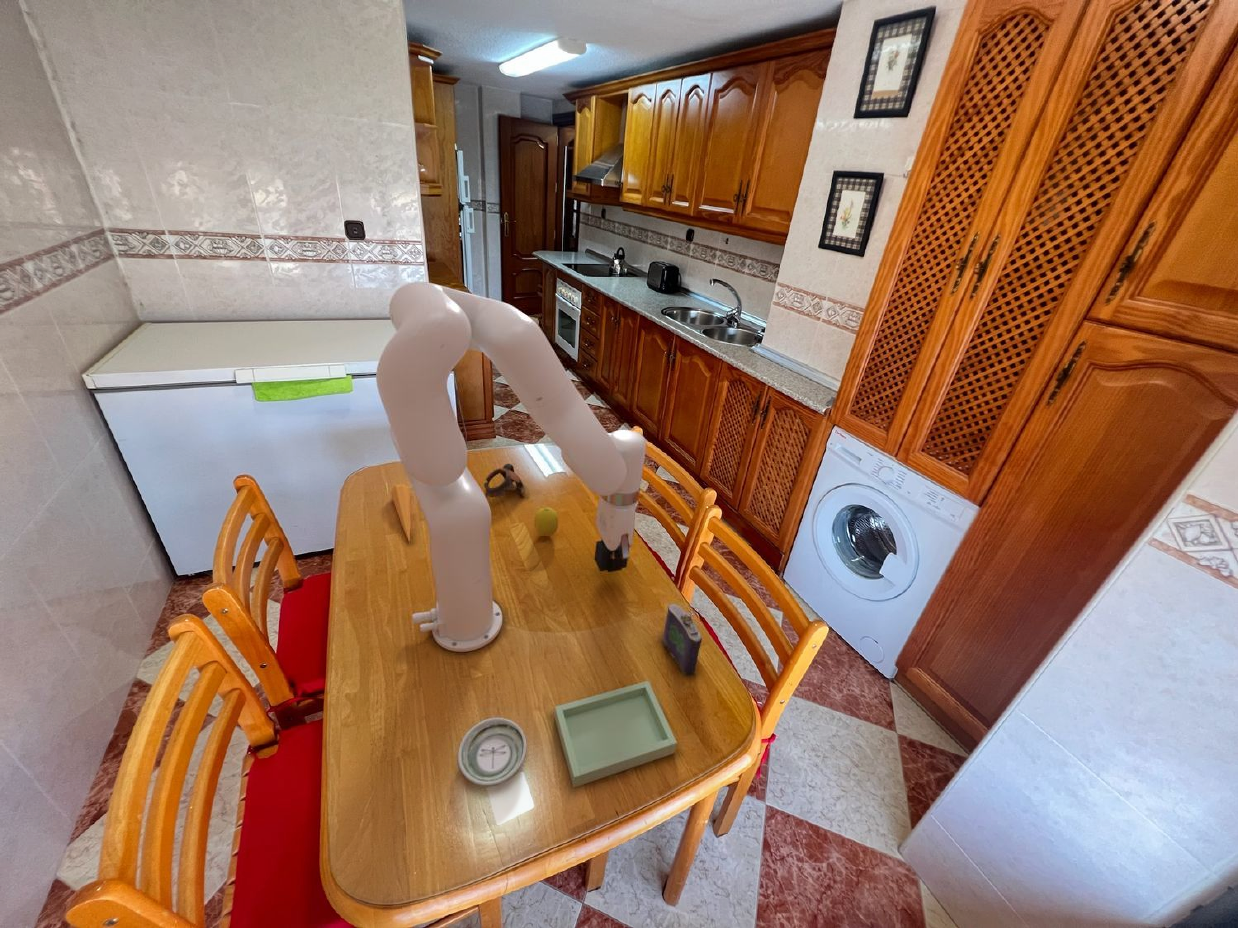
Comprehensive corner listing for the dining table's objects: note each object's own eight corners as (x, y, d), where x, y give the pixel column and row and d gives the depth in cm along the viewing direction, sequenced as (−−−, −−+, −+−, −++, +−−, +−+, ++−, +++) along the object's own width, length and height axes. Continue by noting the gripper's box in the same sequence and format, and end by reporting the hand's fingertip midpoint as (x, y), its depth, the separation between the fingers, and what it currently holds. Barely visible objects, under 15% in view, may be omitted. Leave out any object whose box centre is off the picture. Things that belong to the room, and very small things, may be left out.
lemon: (553, 545, 114) (554, 517, 110) (530, 540, 115) (530, 512, 111) (560, 530, 119) (561, 503, 115) (538, 526, 120) (539, 499, 116)
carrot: (396, 497, 126) (386, 486, 123) (412, 489, 126) (403, 478, 123) (405, 553, 112) (394, 541, 108) (424, 543, 112) (413, 531, 109)
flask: (659, 638, 94) (667, 597, 88) (672, 633, 95) (680, 593, 90) (685, 678, 87) (695, 636, 81) (699, 672, 88) (710, 631, 83)
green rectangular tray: (573, 787, 70) (574, 777, 69) (554, 717, 79) (554, 706, 77) (674, 753, 75) (677, 742, 74) (646, 690, 84) (648, 680, 83)
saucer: (464, 805, 67) (463, 795, 66) (454, 738, 74) (453, 729, 73) (534, 778, 71) (534, 768, 69) (518, 717, 78) (517, 708, 77)
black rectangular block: (600, 571, 103) (602, 553, 101) (594, 559, 107) (596, 541, 104) (626, 567, 106) (629, 549, 103) (620, 555, 109) (622, 537, 106)
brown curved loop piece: (527, 505, 127) (511, 486, 122) (495, 515, 129) (477, 497, 124) (529, 471, 136) (514, 451, 130) (498, 481, 138) (482, 462, 132)
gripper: (589, 471, 102) (582, 540, 111) (616, 518, 89) (606, 593, 98) (622, 468, 105) (613, 536, 114) (654, 513, 92) (641, 587, 101)
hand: (610, 562), depth 106 cm, fingers closed on black rectangular block, 4 cm apart
